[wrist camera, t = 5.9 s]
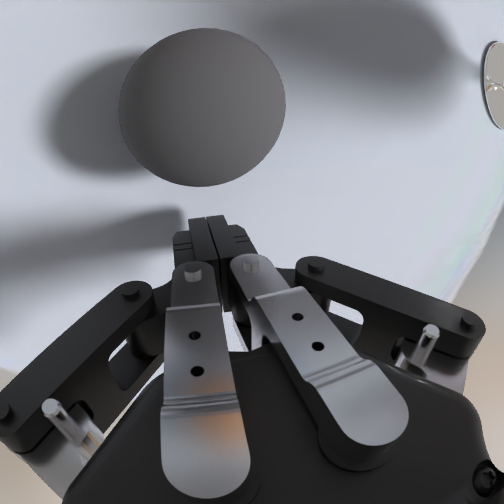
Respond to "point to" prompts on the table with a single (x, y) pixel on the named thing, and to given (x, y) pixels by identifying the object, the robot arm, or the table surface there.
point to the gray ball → (202, 107)
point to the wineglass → (495, 82)
